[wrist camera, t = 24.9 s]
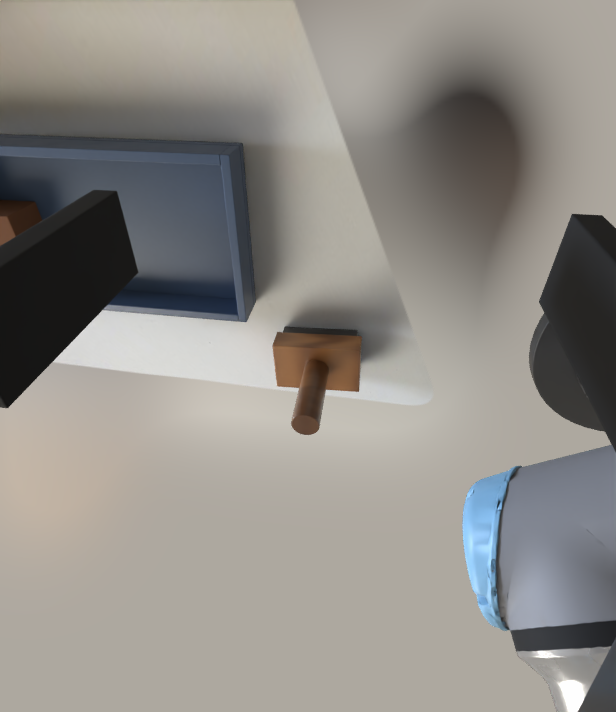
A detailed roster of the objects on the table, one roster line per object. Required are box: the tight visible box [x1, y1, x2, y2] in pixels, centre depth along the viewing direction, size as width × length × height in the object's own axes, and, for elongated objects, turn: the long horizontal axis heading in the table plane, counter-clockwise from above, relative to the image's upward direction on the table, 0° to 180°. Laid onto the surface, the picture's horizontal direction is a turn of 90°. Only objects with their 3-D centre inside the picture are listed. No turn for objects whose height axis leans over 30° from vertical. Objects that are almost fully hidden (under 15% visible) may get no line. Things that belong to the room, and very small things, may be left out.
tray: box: [0, 134, 256, 322], centre depth 42 cm, size 26×16×4 cm, turn 90°
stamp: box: [273, 327, 362, 435], centre depth 45 cm, size 9×6×12 cm, turn 93°
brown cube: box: [0, 200, 42, 246], centre depth 42 cm, size 4×4×4 cm
